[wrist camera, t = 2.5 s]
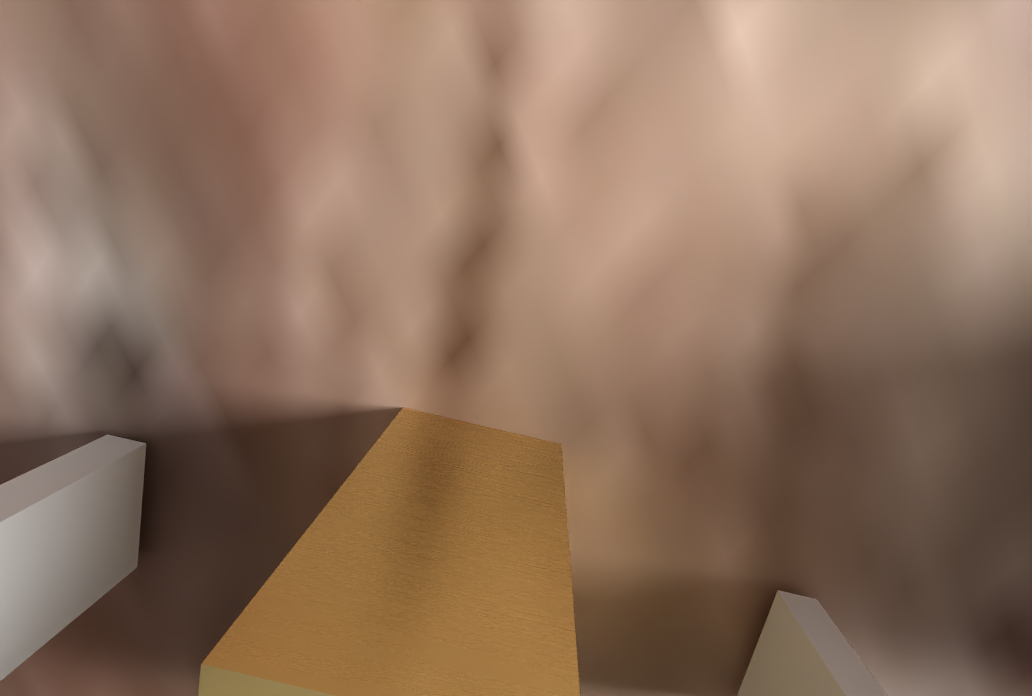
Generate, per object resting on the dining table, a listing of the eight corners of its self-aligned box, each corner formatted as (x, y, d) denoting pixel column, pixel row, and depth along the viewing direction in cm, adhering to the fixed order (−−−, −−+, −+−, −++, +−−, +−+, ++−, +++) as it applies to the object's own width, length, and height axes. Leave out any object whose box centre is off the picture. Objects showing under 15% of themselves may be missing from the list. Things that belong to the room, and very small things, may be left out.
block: (403, 406, 10) (199, 664, 4) (561, 443, 10) (584, 753, 4) (354, 670, 11) (149, 1146, 5) (493, 702, 11) (437, 1213, 5)
